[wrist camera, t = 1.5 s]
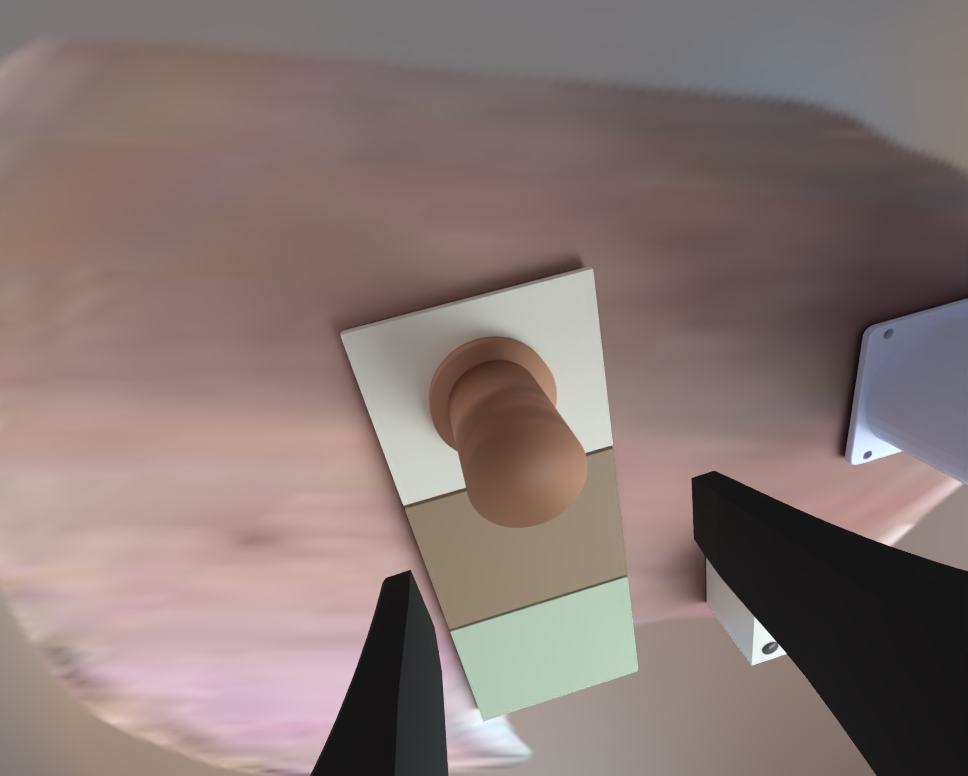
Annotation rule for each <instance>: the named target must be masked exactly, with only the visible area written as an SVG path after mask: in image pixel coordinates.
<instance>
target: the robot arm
mask: <svg viewBox="0 0 968 776" xmlns="http://www.w3.org/2000/svg"><path fill="white" fill-rule="evenodd" d="M901 451H903V452H905V453H907V454H909V455H911V456H913V457H915V458H917V459H918V460H920V461H922V462H924V463H926V464H928V465H930V466H932V467H933V468H935V469H937V470H939V471H941V472H943V473H945V474H947V475H948V476H950V477H952V478H954V479H956V480H958V481H960V482H962V483H964V484H965V485H967V486H968V298H967V299H963V300H960V301H956V302H952V303H949V304H945V305H942V306H938V307H935V308H931V309H928V310H924V311H921V312H917V313H914V314H910V315H906V316H903V317H899V318H896V319H892V320H889V321H885V322H882V323H878V324H875V325H872V326H870V327H869V328H868V329H866V331H865V332H864V334H863V339H862V345H861V352H860V359H859V366H858V372H857V379H856V386H855V393H854V399H853V406H852V413H851V420H850V426H849V433H848V440H847V447H846V453H845V460H846V461H847V462H849V463H850V464H852V465H858V464H861V463H864V462H868V461H871V460H874V459H878V458H881V457H884V456H887V455H891V454H894V453H897V452H901ZM692 500H693V526H694V540H695V541H696V543H697V544H698V546H699V547H700V549H701V550H702V552H703V553H704V555H705V556H706V558H707V559H708V561H709V562H710V563H711V565H712V566H713V568H714V569H715V571H716V572H717V573H718V575H719V576H720V577H721V578H722V580H723V581H724V582H725V583H726V584H727V586H728V587H729V588H730V589H731V590H732V591H733V593H734V594H735V595H736V596H737V597H738V598H739V600H740V601H741V602H742V603H743V604H744V605H745V606H746V608H747V609H748V610H749V611H750V612H751V613H752V614H753V616H754V617H755V618H756V619H757V620H758V621H759V622H760V624H761V625H762V626H763V627H764V628H765V629H766V630H767V632H768V633H769V634H770V635H771V636H772V637H773V639H774V640H775V641H776V642H777V643H778V644H779V645H780V647H781V648H782V649H783V650H784V651H785V652H786V653H787V655H788V656H789V657H790V658H791V659H792V660H793V662H794V663H795V664H796V665H797V667H798V668H799V669H800V670H801V672H802V673H803V674H804V675H805V676H806V678H807V679H808V680H809V682H810V683H811V685H812V686H813V687H814V689H815V690H816V691H817V693H818V694H819V695H820V697H821V698H822V699H823V701H824V702H825V704H826V705H827V706H828V708H829V709H830V710H831V712H832V713H833V715H834V716H835V717H836V719H837V720H838V721H839V723H840V724H841V726H842V727H843V728H844V730H845V731H846V733H847V734H848V736H849V737H850V738H851V740H852V741H853V743H854V744H855V745H856V747H857V748H858V750H859V751H860V752H861V754H862V755H863V757H864V758H865V760H866V761H867V763H868V764H869V765H870V767H871V768H872V770H873V771H874V773H875V774H876V776H968V571H965V570H961V569H957V568H954V567H951V566H948V565H944V564H941V563H938V562H935V561H932V560H928V559H926V558H923V557H920V556H917V555H914V554H911V553H908V552H905V551H902V550H899V549H896V548H893V547H890V546H887V545H885V544H882V543H879V542H876V541H874V540H871V539H868V538H866V537H863V536H861V535H858V534H856V533H853V532H851V531H848V530H846V529H843V528H841V527H838V526H836V525H833V524H831V523H828V522H826V521H824V520H821V519H819V518H816V517H814V516H812V515H810V514H807V513H805V512H803V511H800V510H798V509H796V508H794V507H792V506H789V505H787V504H785V503H783V502H781V501H778V500H776V499H774V498H772V497H770V496H768V495H766V494H763V493H761V492H759V491H757V490H755V489H753V488H751V487H748V486H746V485H744V484H742V483H740V482H738V481H736V480H734V479H731V478H729V477H727V476H725V475H723V474H720V473H718V472H716V471H712V472H709V473H706V474H703V475H700V476H697V477H694V478H692ZM310 776H448V763H447V746H446V730H445V713H444V698H443V682H442V670H441V664H440V657H439V651H438V645H437V639H436V633H435V628H434V625H433V622H432V620H431V617H430V615H429V613H428V610H427V608H426V605H425V603H424V601H423V598H422V596H421V593H420V591H419V589H418V586H417V584H416V581H415V579H414V577H413V574H412V572H411V570H409V571H406V572H403V573H400V574H397V575H394V576H391V577H388V578H385V580H384V582H383V583H382V587H381V591H380V595H379V599H378V603H377V606H376V610H375V613H374V616H373V620H372V623H371V626H370V629H369V633H368V636H367V639H366V642H365V644H364V647H363V650H362V653H361V656H360V659H359V662H358V665H357V668H356V670H355V673H354V676H353V678H352V681H351V684H350V686H349V689H348V691H347V694H346V696H345V699H344V701H343V704H342V706H341V709H340V711H339V714H338V716H337V718H336V721H335V723H334V725H333V728H332V730H331V732H330V735H329V737H328V739H327V741H326V743H325V746H324V748H323V750H322V752H321V754H320V756H319V758H318V760H317V763H316V765H315V767H314V769H313V771H312V773H311V775H310Z"/></svg>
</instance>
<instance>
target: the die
mask: <svg viewBox="0 0 968 776" xmlns="http://www.w3.org/2000/svg"><path fill="white" fill-rule="evenodd" d="M706 582H707V605H708V607H709V608H710V609H711V611H712V612H713V614H714V615H715V616H716V618H717V619H718V620H719V622H720V623H721V624H722V626H723V627H724V628H725V630H726V631H727V632H728V634H729V635H730V637H731V638H732V639H733V640H734V642H735V643H736V645H737V646H738V647H739V649H740V650H741V651H742V653H743V654H744V655H745V657H746V658H747V659H748V661H749V662H750V663H751V665H754V664H757V663H760V662H764V661H767V660H770V659H772V658H776V657H779V656H782V655H785V654H787V653H786V652H785V651H784V650H783V649H782V648H781V647H780V645H779V644H778V643H777V642H776V641H775V640H774V639H773V637H772V636H771V635H770V634H769V633H768V632H767V630H766V629H765V628H764V627H763V626H762V625H761V624H760V622H759V621H758V620H757V619H756V618H755V617H754V616H753V614H752V613H751V612H750V611H749V610H748V609H747V608H746V606H745V605H744V604H743V603H742V602H741V601H740V600H739V598H738V597H737V596H736V595H735V594H734V593H733V591H732V590H731V589H730V588H729V587H728V586H727V584H726V583H725V582H724V581H723V580H722V578H721V577H720V576H719V575H718V573H717V572H716V571H715V569H714V568H713V566H712V565H711V563H710V562H709V561H708V559H707V558H706Z"/></svg>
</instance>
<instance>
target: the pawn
mask: <svg viewBox="0 0 968 776" xmlns="http://www.w3.org/2000/svg"><path fill="white" fill-rule="evenodd" d="M556 402H557V391H556V384H555V380H554V378H553V375H552V373H551V371H550V369H549V368H548V366H547V365H546V364H545V362H544V361H543V360H542V359H541V357H540V356H539V355H538V354H537V353H536V352H535V351H534V350H533V349H532V348H530V347H529V346H527V345H526V344H524V343H522V342H520V341H517V340H514V339H511V338H506V337H497V336H493V337H484V338H479V339H475V340H472V341H469V342H467V343H465V344H463V345H461V346H460V347H458V348H457V349H455V350H454V351H453V352H451V353H450V354H449V355H448V356H447V357H446V358H445V359H444V360H443V361H442V363H441V364H440V366H439V367H438V368H437V370H436V372H435V374H434V376H433V379H432V382H431V386H430V390H429V405H430V412H431V417H432V421H433V424H434V427H435V429H436V431H437V432H438V434H439V436H440V437H441V438H442V439H443V441H444V442H445V443H446V444H447V445H448V446H450V447H451V448H452V449H454V450H455V451H457V452H458V456H459V460H460V464H461V468H462V473H463V477H464V481H465V486H466V490H467V494H468V497H469V500H470V502H471V504H472V506H473V507H474V509H475V510H476V511H477V512H478V513H479V514H480V515H481V516H482V517H483V518H485V519H486V520H488V521H490V522H492V523H494V524H497V525H500V526H504V527H510V528H525V527H532V526H536V525H539V524H542V523H545V522H547V521H549V520H552V519H553V518H555V517H557V516H558V515H560V514H561V513H563V512H564V511H565V510H566V509H567V508H568V507H570V506H571V505H572V503H573V502H574V501H575V500H576V499H577V497H578V496H579V494H580V492H581V491H582V489H583V487H584V484H585V481H586V477H587V471H588V463H587V457H586V453H585V451H584V448H583V447H582V445H581V443H580V442H579V440H578V439H577V438H576V436H575V435H574V433H573V432H572V430H571V429H570V428H569V426H568V425H567V423H566V422H565V421H564V419H563V418H562V416H561V415H560V414H559V412H558V411H557V409H556V408H555V407H556Z"/></svg>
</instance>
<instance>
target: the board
mask: <svg viewBox="0 0 968 776" xmlns="http://www.w3.org/2000/svg"><path fill="white" fill-rule="evenodd" d="M340 336H341V339H342V342H343V344H344V347H345V350H346V352H347V355H348V358H349V361H350V363H351V366H352V369H353V371H354V374H355V377H356V379H357V382H358V385H359V387H360V390H361V393H362V396H363V398H364V401H365V404H366V406H367V409H368V412H369V414H370V417H371V420H372V423H373V425H374V428H375V431H376V433H377V436H378V439H379V441H380V444H381V447H382V449H383V452H384V455H385V458H386V460H387V463H388V466H389V468H390V471H391V474H392V476H393V479H394V482H395V484H396V487H397V490H398V493H399V495H400V498H401V501H402V503H403V506H404V505H405V511H406V514H407V517H408V520H409V522H410V525H411V528H412V530H413V533H414V536H415V538H416V541H417V544H418V546H419V549H420V552H421V555H422V557H423V560H424V563H425V565H426V568H427V571H428V573H429V576H430V579H431V581H432V584H433V587H434V590H435V592H436V595H437V598H438V600H439V603H440V606H441V608H442V611H443V614H444V616H445V619H446V622H447V625H448V627H449V629H450V633H451V635H452V638H453V641H454V643H455V646H456V649H457V652H458V654H459V657H460V660H461V662H462V665H463V668H464V670H465V673H466V676H467V678H468V681H469V684H470V687H471V689H472V692H473V695H474V697H475V700H476V703H477V705H478V708H479V711H480V713H481V716H482V719H483V721H486V720H489V719H492V718H495V717H498V716H501V715H504V714H507V713H510V712H514V711H516V710H519V709H522V708H525V707H529V706H532V705H535V704H538V703H541V702H544V701H547V700H550V699H553V698H556V697H559V696H562V695H566V694H569V693H572V692H575V691H578V690H581V689H584V688H587V687H590V686H593V685H596V684H599V683H603V682H606V681H608V680H612V679H614V678H618V677H621V676H624V675H627V674H630V673H633V672H636V671H638V664H637V655H636V646H635V637H634V628H633V619H632V610H631V602H630V593H629V584H628V576H627V575H626V574H627V566H626V557H625V548H624V539H623V530H622V521H621V513H620V504H619V495H618V486H617V477H616V468H615V459H614V450H613V448H612V446H611V445H613V441H612V432H611V424H610V415H609V406H608V397H607V388H606V379H605V370H604V361H603V352H602V344H601V335H600V326H599V317H598V308H597V299H596V290H595V281H594V272H593V268H590V267H585V268H581V269H577V270H573V271H569V272H565V273H562V274H558V275H554V276H550V277H546V278H542V279H539V280H535V281H531V282H527V283H523V284H519V285H516V286H512V287H508V288H504V289H500V290H496V291H493V292H489V293H485V294H481V295H477V296H474V297H470V298H466V299H462V300H458V301H454V302H451V303H447V304H443V305H439V306H435V307H431V308H428V309H424V310H420V311H416V312H412V313H408V314H405V315H401V316H397V317H393V318H389V319H385V320H382V321H378V322H374V323H370V324H366V325H363V326H359V327H355V328H351V329H347V330H343V331H341V333H340ZM493 336H497V337H506V338H511V339H514V340H517V341H520V342H522V343H524V344H526V345H527V346H529V347H530V348H532V349H533V350H534V351H535V352H536V353H537V354H538V355H539V356H540V357H541V359H542V360H543V361H544V362H545V364H546V365H547V366H548V368H549V369H550V371H551V373H552V375H553V378H554V380H555V384H556V391H557V402H556V407H555V408H556V409H557V411H558V412H559V414H560V415H561V416H562V418H563V419H564V421H565V422H566V423H567V425H568V426H569V428H570V429H571V430H572V432H573V433H574V435H575V436H576V438H577V439H578V440H579V442H580V443H581V445H582V447H583V448H584V451H585V453H586V457H587V463H588V471H587V477H586V481H585V484H584V487H583V489H582V491H581V492H580V494H579V496H578V497H577V499H576V500H575V501H574V502H573V503H572V505H571V506H570V507H568V508H567V509H566V510H565V511H564V512H563V513H561V514H560V515H558V516H557V517H555V518H553V519H552V520H549V521H547V522H545V523H542V524H539V525H536V526H532V527H525V528H510V527H504V526H500V525H497V524H494V523H492V522H490V521H488V520H486V519H485V518H483V517H482V516H481V515H480V514H479V513H478V512H477V511H476V510H475V509H474V507H473V506H472V504H471V502H470V500H469V497H468V494H467V490H466V486H465V481H464V477H463V473H462V468H461V464H460V460H459V456H458V452H457V451H455V450H454V449H452V448H451V447H450V446H448V445H447V444H446V443H445V442H444V441H443V439H442V438H441V437H440V436H439V434H438V432H437V431H436V429H435V427H434V424H433V421H432V417H431V412H430V405H429V390H430V386H431V382H432V379H433V376H434V374H435V372H436V370H437V368H438V367H439V366H440V364H441V363H442V361H443V360H444V359H445V358H446V357H447V356H448V355H449V354H450V353H451V352H453V351H454V350H455V349H457V348H458V347H460V346H461V345H463V344H465V343H467V342H469V341H472V340H475V339H479V338H484V337H493Z"/></svg>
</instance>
